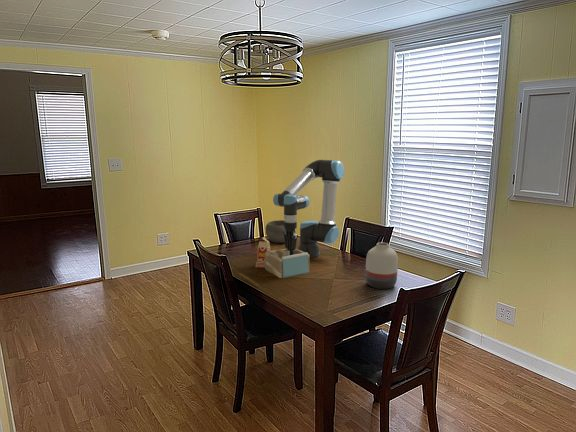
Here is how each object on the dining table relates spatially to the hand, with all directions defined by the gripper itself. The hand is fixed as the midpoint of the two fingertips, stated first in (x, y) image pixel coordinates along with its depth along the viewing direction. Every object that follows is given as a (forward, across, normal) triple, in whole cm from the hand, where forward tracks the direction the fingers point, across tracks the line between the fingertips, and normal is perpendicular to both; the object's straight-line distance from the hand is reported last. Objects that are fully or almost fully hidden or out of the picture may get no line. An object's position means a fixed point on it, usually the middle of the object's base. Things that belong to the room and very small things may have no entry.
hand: (290, 260), depth 251 cm
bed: (+8, -4, 0) cm, 9 cm away
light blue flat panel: (+7, +6, 0) cm, 10 cm away
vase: (+9, +41, +33) cm, 54 cm away
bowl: (+9, -67, +32) cm, 74 cm away
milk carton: (+9, -20, -7) cm, 22 cm away
